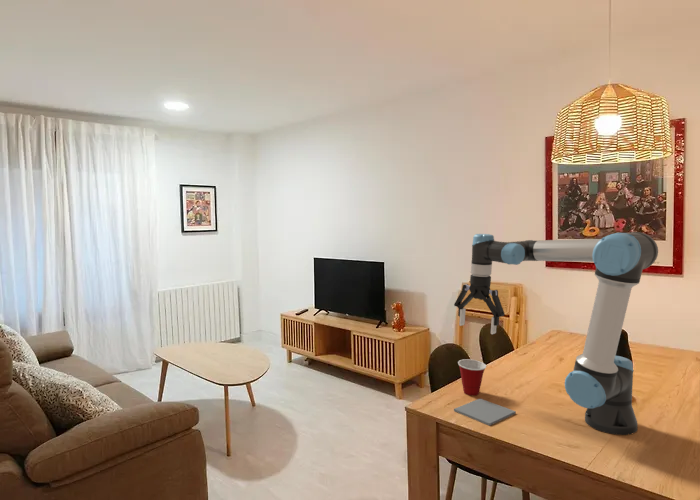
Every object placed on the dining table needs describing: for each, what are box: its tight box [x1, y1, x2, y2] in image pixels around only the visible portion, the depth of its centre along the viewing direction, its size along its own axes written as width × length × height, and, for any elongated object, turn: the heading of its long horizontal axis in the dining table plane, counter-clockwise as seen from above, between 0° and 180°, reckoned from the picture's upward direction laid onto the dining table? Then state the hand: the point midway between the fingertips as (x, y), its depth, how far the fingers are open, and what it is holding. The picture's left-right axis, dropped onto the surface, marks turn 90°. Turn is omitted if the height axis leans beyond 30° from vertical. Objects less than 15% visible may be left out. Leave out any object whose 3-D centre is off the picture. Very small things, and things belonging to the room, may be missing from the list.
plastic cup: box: [457, 358, 487, 396], centre depth 181 cm, size 11×11×12 cm
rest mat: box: [453, 398, 517, 426], centre depth 164 cm, size 15×15×1 cm
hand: (477, 329), depth 178 cm, fingers open, 13 cm apart
